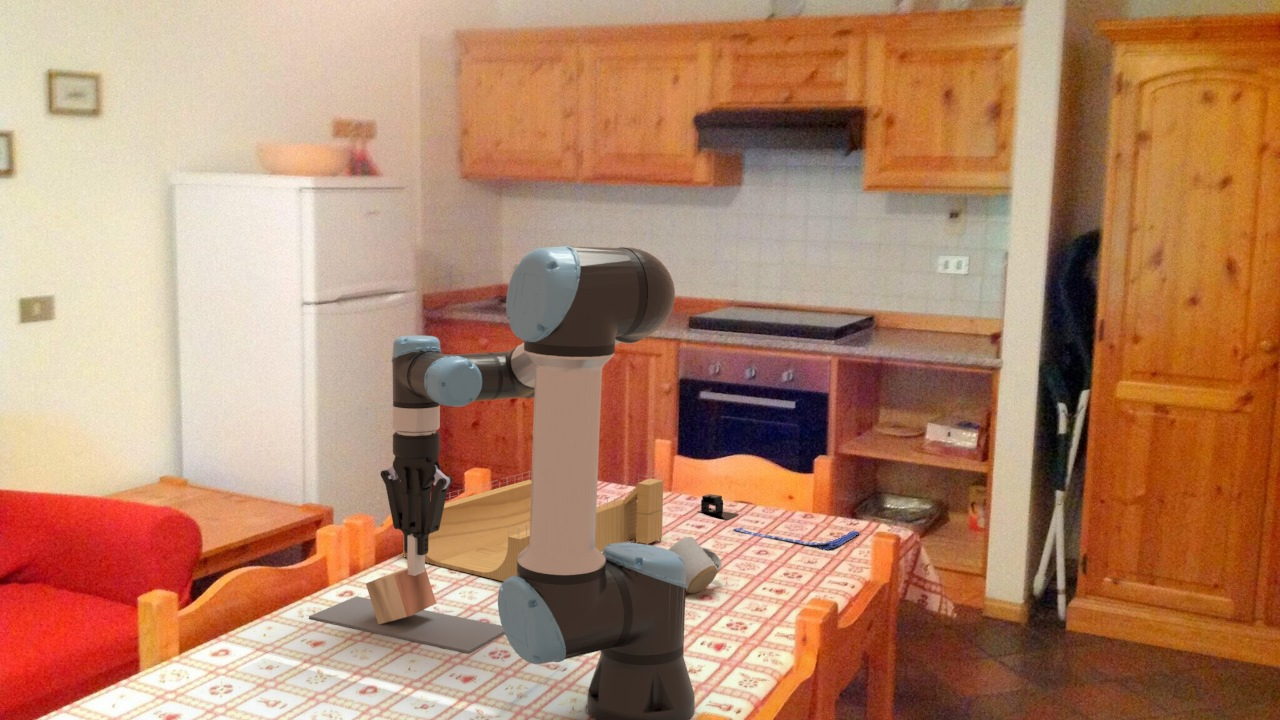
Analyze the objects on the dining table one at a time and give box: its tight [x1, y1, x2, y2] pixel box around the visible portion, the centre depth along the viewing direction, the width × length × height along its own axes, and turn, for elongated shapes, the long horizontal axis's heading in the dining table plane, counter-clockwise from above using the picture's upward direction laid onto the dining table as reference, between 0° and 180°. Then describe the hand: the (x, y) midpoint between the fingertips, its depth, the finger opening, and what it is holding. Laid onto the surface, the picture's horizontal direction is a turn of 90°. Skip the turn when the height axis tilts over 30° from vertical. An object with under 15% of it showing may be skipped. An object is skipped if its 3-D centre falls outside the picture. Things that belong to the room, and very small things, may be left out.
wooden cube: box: [365, 567, 437, 624], centre depth 189 cm, size 7×7×7 cm
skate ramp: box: [402, 470, 664, 582], centre depth 231 cm, size 40×35×16 cm
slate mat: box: [308, 595, 505, 654], centre depth 189 cm, size 12×32×1 cm, turn 64°
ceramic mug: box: [668, 536, 723, 595], centre depth 210 cm, size 11×8×8 cm
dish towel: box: [732, 527, 860, 551], centre depth 249 cm, size 17×24×3 cm
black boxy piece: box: [697, 493, 740, 521], centre depth 263 cm, size 12×7×5 cm, turn 54°
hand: (416, 572), depth 187 cm, fingers closed
